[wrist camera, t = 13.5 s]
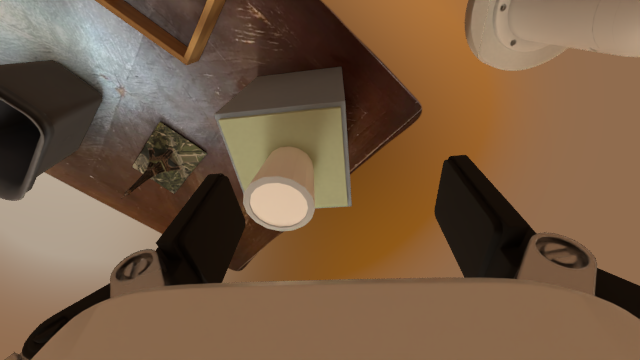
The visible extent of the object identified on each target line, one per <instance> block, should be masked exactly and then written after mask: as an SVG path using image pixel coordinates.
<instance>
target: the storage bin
mask: <svg viewBox="0 0 640 360" xmlns="http://www.w3.org/2000/svg"><path fill="white" fill-rule="evenodd" d="M102 99H103V98H102V96H101V94H100V93H99V92H98V91H96V90H95V89H93V88H92V87H91V86H89V85H88V84H87V83H85V82H84V81H82V80H81V79H80V78H78V77H77V76H75V75H74V74H73V73H71V72H70V71H69V70H67V69H66V68H64V67H63V66H62V65H60V64H59V63H57V62H55V61H53V60H48V61H37V62H26V63H16V64H5V65H0V198H2V199H5V200H11V201H17V200H20V199H22V198H23V197H24V195H25V193H26V192H27V191H29V190H31V188H32V186H33V184H34V182H35V180H36V177H37V176H39V175H40V174H42V173H43V172H45V171H46V170H48V169H49V168H51V167H52V166H54V165H55V164H57V163H58V162H60V161H61V160H63V159H64V158H66V157H67V156H69V155H70V154H72V153H73V152H75V151H76V150H78V148H79V146H80V144H81V142H82V140H83V138H84V136H85V134H86V132H87V130H88V128H89V126H90V124H91V122H92V120H93V118H94V116H95V114H96V112H97V110H98V108H99V106H100V104H101V102H102Z"/></svg>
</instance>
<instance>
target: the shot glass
mask: <svg viewBox="0 0 640 360" xmlns="http://www.w3.org/2000/svg"><path fill="white" fill-rule="evenodd" d="M243 204H244V206H245V209H246V211H247V214H248V215H249V216H250V217H251V218H252V219H253V220H254V221H255V222H256V223H258V224H260V225H262V226H264V227H266V228H268V229H273V230H277V231H290V230H295V229H297V228H300V227H303V226H304V225H305V224H307V223H308V222H309V221H310V220H311V219H312V216H313V213H314V210H315V194H314V168H313V163H312V160H311V159H310V157H309V156H308V154H306V153H305V152H303V151H302V150H300V149H298V148H294V147H291V146H288V147H280V148H278V149H276V150H274V151H272V153H271V154H270V155H269V157H268V158H267V159H266V161H265V162H264V164H263V165H262V167H261V168H260V170H259V171H258V173H257V174H256V176H255V177H254V179H253V180H252V182H251V183H250V185H249V186H248V188H247V189H246V190H245V192H244V199H243Z"/></svg>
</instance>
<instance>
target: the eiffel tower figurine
mask: <svg viewBox="0 0 640 360" xmlns="http://www.w3.org/2000/svg"><path fill="white" fill-rule="evenodd" d="M206 154H207V153H206V152H204V151H203V150H201V149H200V148H198V147H197V146H195V145H194V144H192V143H191V142H189V141H188V140H186V139H185V138H183V137H182V136H180V135H179V134H177V133H176V132H174V131H173V130H171V129H170V128H168V127H167V126H165V125H164V124H162V123H161V122H159V124H158V125H157V127H156V129H155V130H154V132H153V133H152V135H151V137H150V138H149V140H148V142H147V143H146V145H145V147H144V148H143V150H142V152H141V153H140V155H139V156H138V158H137V160H136V161H135V163H134V164H133V166H132V167H133V168H135V169H137V170H138V171H140V172H141V173H143V175H142V176H141V177H140V178H139V179H138V180H137V181H136V182H135V184H134V185H133V186H132V187H131V188H130V189H129V190H128V191H125V195H129V194H130V193H131V192H132V191H133V190H135V189H136V188H137V187H138V186H140V185H141V184H142V183H144V182H145V181H147V180H148V179H150V178H151V179H152V180H154V181H155V182H157V183H158V184H160V185H161V186H163V187H164V188H166V189H167V190H169V191H171V192H172V193H174V194H175V192H176V191H177V190H178V189H179V188H180V186H181V185H182V184H183V183H184V181H185V180H186V179H187V177H188V176H189V175H190V174H191V172H192V171H193V170H194V169H195V167H196V166H197V165H198V164H199V163H200V161H201V160H202V159H203V158H204V157H205V156H206ZM125 195H124V196H125ZM124 196H123V197H124ZM123 197H122V198H123ZM122 198H121V199H122Z"/></svg>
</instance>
